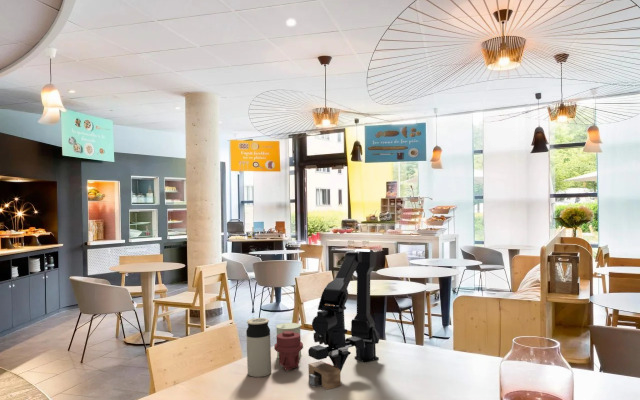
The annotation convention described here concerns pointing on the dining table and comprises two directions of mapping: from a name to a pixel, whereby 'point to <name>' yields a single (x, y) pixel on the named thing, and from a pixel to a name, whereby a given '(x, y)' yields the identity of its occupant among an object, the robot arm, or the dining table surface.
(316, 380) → the pin
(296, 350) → the mechanical component
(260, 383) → the dining table surface
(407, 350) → the dining table surface
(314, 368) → the block
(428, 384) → the dining table surface
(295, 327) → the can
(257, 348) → the travel mug
